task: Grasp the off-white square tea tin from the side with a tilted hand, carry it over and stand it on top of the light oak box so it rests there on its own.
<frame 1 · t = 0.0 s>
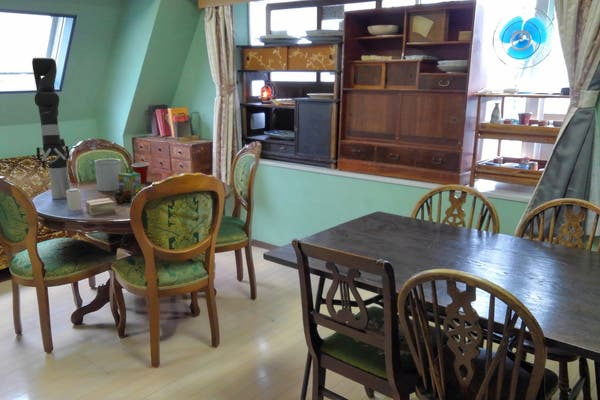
hand: (54, 168, 242), 22 cm above the table, tool pointing down, fingers open, 8 cm apart
tin: (75, 209, 254), on the table
chalk box: (130, 193, 290), on the table
utensil holder: (110, 189, 301), on the table
plastic cup: (141, 182, 321), on the table
decorative turtle: (123, 202, 269), on the table
block: (100, 211, 250), on the table
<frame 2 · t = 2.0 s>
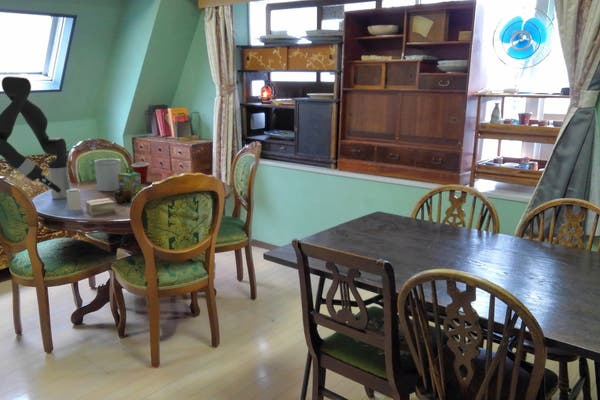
hand: (58, 189, 248), 11 cm above the table, tool tilted 45°, fingers open, 8 cm apart
nothing on the table moved.
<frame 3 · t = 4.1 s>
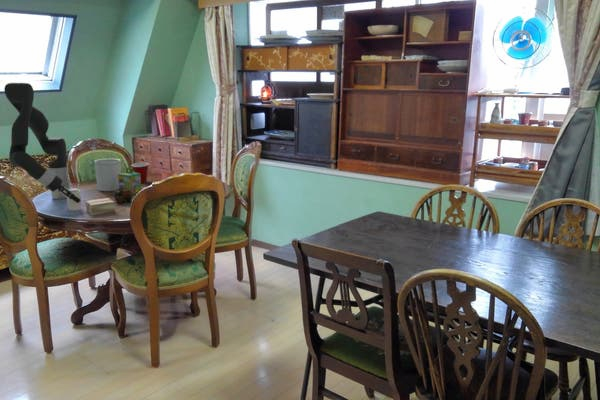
hand: (77, 200, 254), 4 cm above the table, tool tilted 45°, fingers closed on tin, 5 cm apart
tin: (75, 209, 254), on the table, touching gripper
everything else where it was.
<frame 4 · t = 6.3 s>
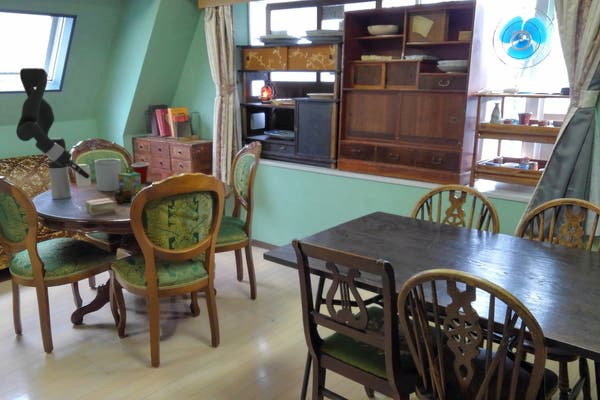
hand: (86, 176, 248), 17 cm above the table, tool tilted 45°, fingers closed on tin, 5 cm apart
tin: (83, 185, 248), point 13 cm above the table, touching gripper
everything else where it was.
when the fingers open (10 cm above the table, at t = 8.6 s): tin stays where it is, resting on block.
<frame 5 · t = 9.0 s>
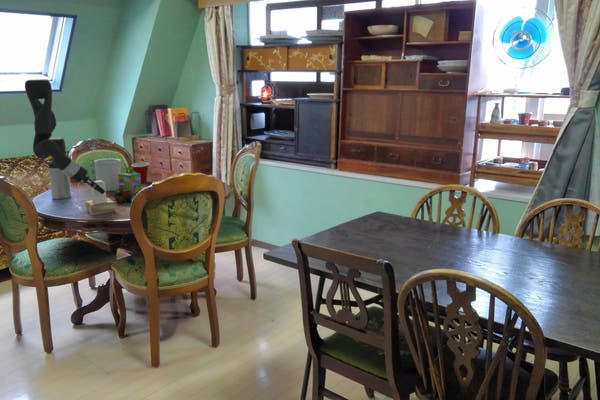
hand: (101, 191, 249), 10 cm above the table, tool tilted 45°, fingers open, 8 cm apart
tin: (99, 201, 249), point 5 cm above the table, touching block
everything else where it was.
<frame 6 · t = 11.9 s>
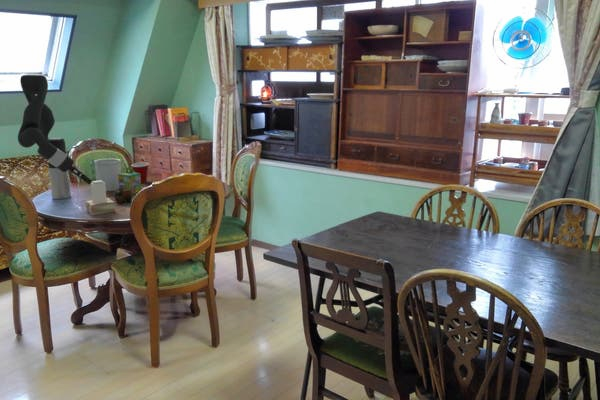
hand: (88, 181, 244), 16 cm above the table, tool tilted 45°, fingers open, 8 cm apart
nothing on the table moved.
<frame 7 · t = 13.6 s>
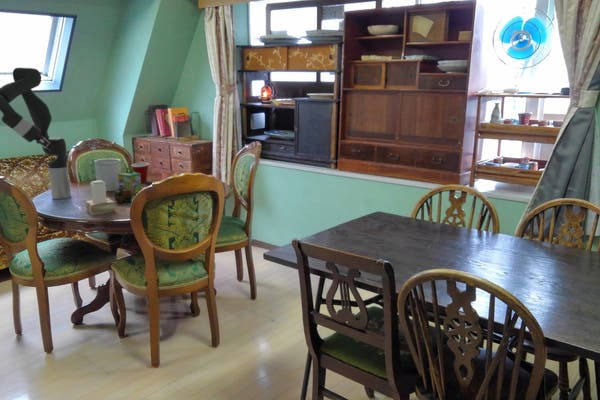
hand: (56, 152, 237), 31 cm above the table, tool tilted 45°, fingers open, 8 cm apart
nothing on the table moved.
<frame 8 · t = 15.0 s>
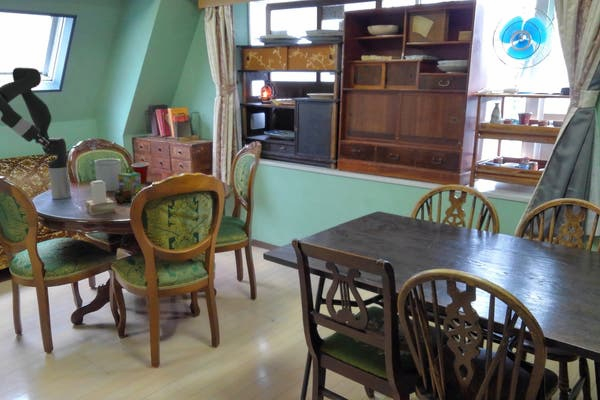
hand: (55, 152, 236), 31 cm above the table, tool tilted 45°, fingers open, 8 cm apart
nothing on the table moved.
at the end: tin inside the target area on the block (0.1 cm from its centre), point 5.0 cm above the block's base; tin tilted 0°; the gripper is holding nothing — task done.
